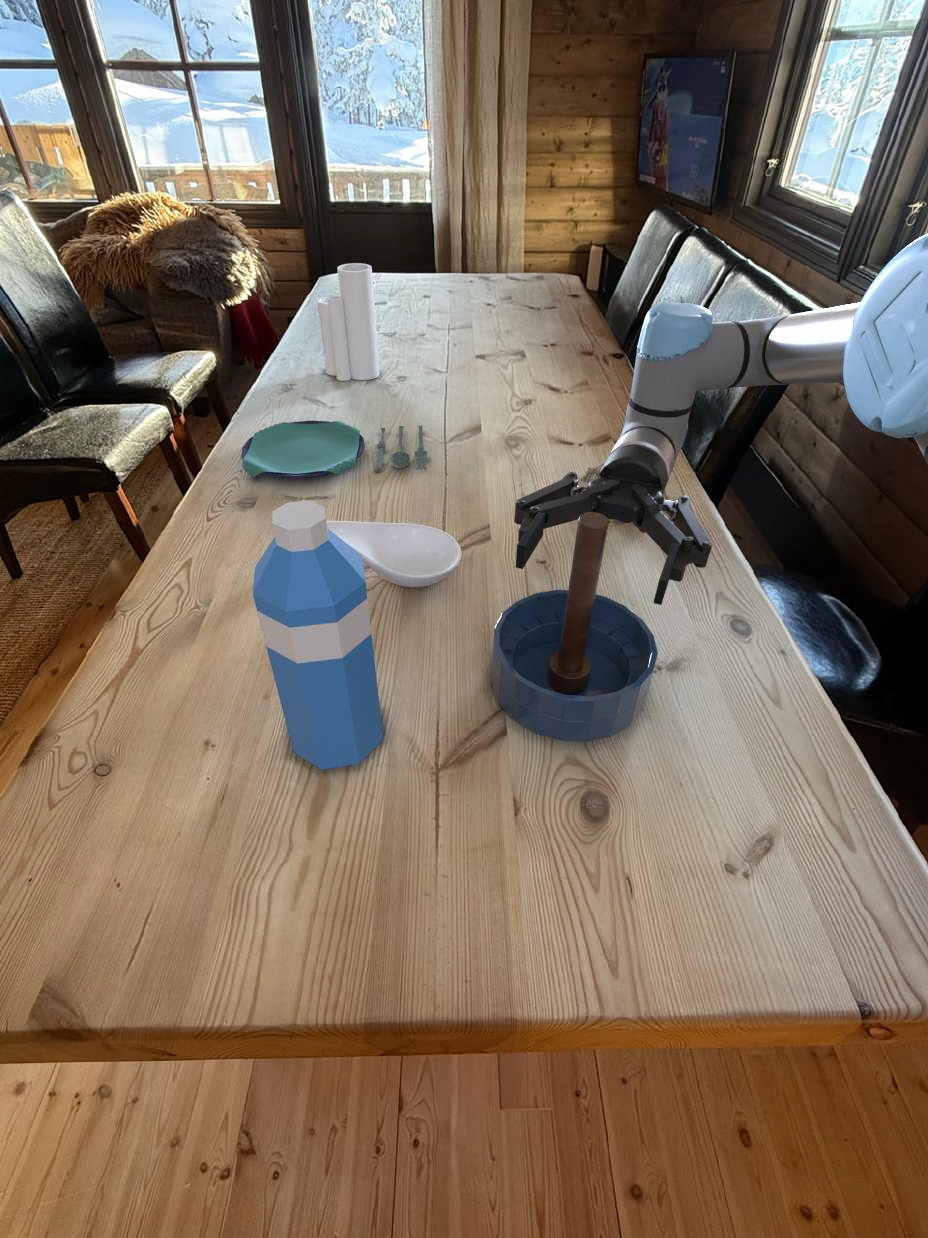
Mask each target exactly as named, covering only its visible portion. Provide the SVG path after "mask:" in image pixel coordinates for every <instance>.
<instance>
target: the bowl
mask: <svg viewBox="0 0 928 1238" xmlns="http://www.w3.org/2000/svg"><path fill="white" fill-rule="evenodd" d="M567 596H568V589H554V590H547V591H541V592H537V593H533V594H530V595H528V596H526V597H523V598H521V599H518V600H516V601H515V602H514V603H512V604H511V605H510V606H509V607H507V608H506V609H505V610H504V611H502V612H501V615H500V617H499V619H498V620H497V622H496V624H495V625H494V628H493V642H492V643H493V644H492V662H491V682H490V684H491V688H492V691H493V694H494V696H495V698H496V701H497V703H498V705H500V707H501V708H502V709H503V710H504V711H505V712H506V713H507V715H508V716H509V717H510V718H511V719H512V720H514V721H515V722H516V723H518V724H519V725H521V726H523V727H525V728H526V729H528V730H529V731H531V732H533V733H534V734H538V735H541V736H544V737H548V738H551V739H554V740H558V741H565V742H582V743H586V742H592V741H597V740H602V739H606V738H611V737H613V736H614V735H616V734H617V733H620V732H622V731H623V730H625V729H627V728H628V727H630V726H631V725H632V724H633V723H634V721H635V720H636V719H637V718H638V717H639V715H641V713H642V711H643V710H644V706H645V703H646V699H647V695H648V693H649V689H650V686H651V681H652V678H653V675H654V671H655V667H656V663H657V659H658V654H659V651H658V648H657V647H658V646H657V642H656V639H655V636H654V634H653V633H652V632H653V631H651V630H650V627H648V625H647V623H646V622H645V621H644V620H643V618H642V617H640V616H639V615H638V614H637V613H635V612H634V611H633V610H631V609H630V608H629V607H627V606H626V605H624V604H622V603H620V602H618V601H616V600H613V599H611V598H609V597H607V596H604V595H601V594H597V593H596V596H595V602H594V607H593V613H592V619H591V624H590V630H589V635H588V641H587V646H586V652H585V655H586V656H587V657H588V658H589V660H590V661H591V664H592V668H591V673H590V679H589V684H588V687H587V688H586V690H585V691H583V692H582V693H580V694H577V695H565V694H561V693H558V692H556V691H555V690H553V689H552V688H551V687H550V686H549V684H548V681H547V674H548V666H549V660H550V657H551V656H552V655H553V654H554V653H555V652H557V651H559V650H560V644H561V637H562V630H563V623H564V616H565V609H566V602H567Z"/></svg>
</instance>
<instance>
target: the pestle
mask: <svg viewBox="0 0 928 1238" xmlns="http://www.w3.org/2000/svg"><path fill="white" fill-rule="evenodd" d="M609 520H610V519H608V518H607V517H606V516H604V515H603V514H600V513H596V512H587V513H584V514H582V515H580V517H579V519H578V520H577V521H578V522H577V526H576V535H575V540H574V548H573V554H572V563H571V568H570V576H569V583H568V589H567V590H568V596H567V602H566V609H565V616H564V623H563V630H562V637H561V644H560V650H559V651H557V652H555V653H554V654H553V655H552V656H551V657H550V660H549V666H548V674H547V681H548V684H549V686H550V687H551V688H552V689H553V690H555V691H556V692H558V693H561V694H565V695H577V694H580V693H582V692H583V691H585V690H586V688H587V687H588V684H589V679H590V673H591V668H592V664H591V661H590V660H589V658H588V657H587V656H586V655H585V652H586V646H587V641H588V635H589V630H590V624H591V619H592V613H593V607H594V602H595V596H596V594H597V590H598V584H599V580H600V573H601V568H602V563H603V557H604V551H605V547H606V540H607V536H608V529H609V524H610V521H609Z"/></svg>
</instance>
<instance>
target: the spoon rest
mask: <svg viewBox="0 0 928 1238" xmlns="http://www.w3.org/2000/svg"><path fill="white" fill-rule="evenodd" d="M327 526H328V529H329V530H330V531H332V532H333V533H334V534H335V535H337V536H338V537H339V538H340V539H342V540H343V541H344V542H345V543H347V544H348V545H349V546H351V547H352V548H353V549H354V550H356V551H357V552H358V553H359V554H361V555H362V557H363V564H365V565H366V566H367V567H368V568H370V569H371V570H372V571H373V572H374V573H375V574H376V575H378V577H380V578H382V579H384V581H387V582H389V583H391V584H394V585H397V586H400V587H404V588H423V587H428V586H432V585H435V584H437V583H439V582H441V581H443V580H445V579H446V578H448V577H449V576H450V575H451V574H453V572H454V571H455V570H456V569H457V568H458V567H459V565H460V563H461V560H462V548H461V546H460V543H458V541H457V539H455V538H454V537H453V536H452V535H451V534H449V533H447V532H445V531H444V530H442V529H438V528H435V527H432V526H428V525H423V524H416V523H402V522H374V521H373V522H370V521H349V520H327Z"/></svg>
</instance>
